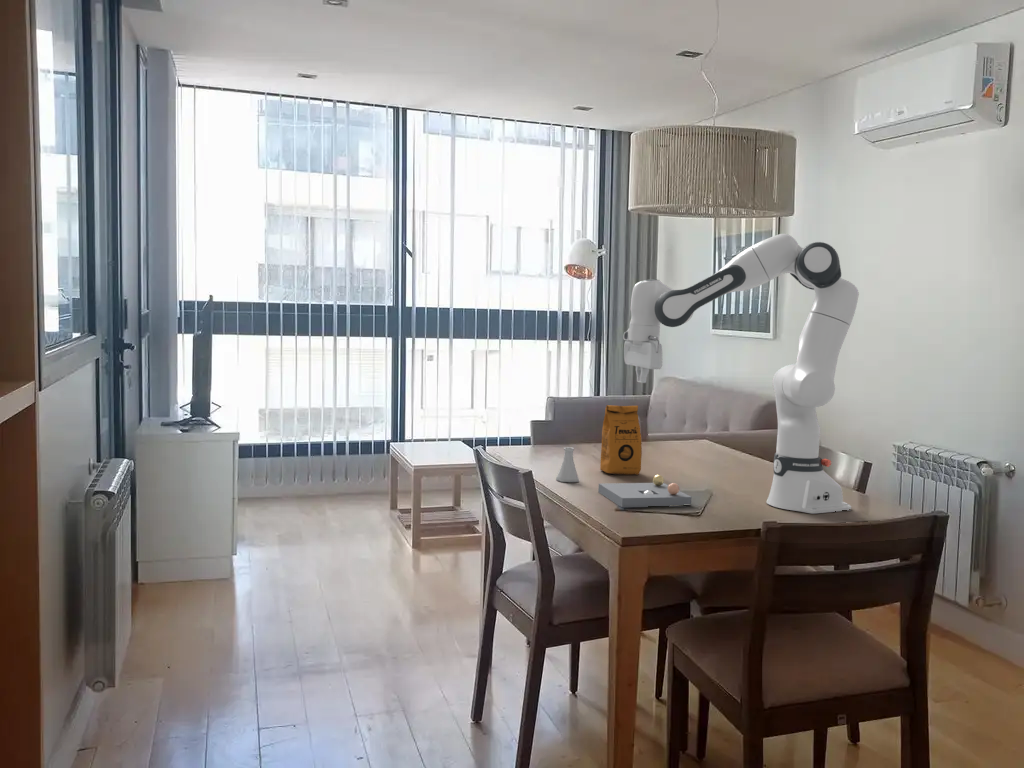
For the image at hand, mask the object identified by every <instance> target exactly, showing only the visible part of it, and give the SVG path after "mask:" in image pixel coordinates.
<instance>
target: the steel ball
mask: <svg viewBox="0 0 1024 768" xmlns="http://www.w3.org/2000/svg"><path fill="white" fill-rule="evenodd" d="M643 494H654V493H653V492H652V491H650V490H647V491H645V492H644V493H643Z"/></svg>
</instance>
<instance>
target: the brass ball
mask: <svg viewBox="0 0 1024 768" xmlns="http://www.w3.org/2000/svg"><path fill="white" fill-rule="evenodd" d="M652 483H654V484H655V485H656V486H661V485H662V484H663V483H665V478H664V477H663V476H662V475H661V474H656V475H654V476H653V477H652Z"/></svg>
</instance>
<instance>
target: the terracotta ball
mask: <svg viewBox="0 0 1024 768" xmlns="http://www.w3.org/2000/svg"><path fill="white" fill-rule="evenodd" d="M668 485H669V486H668V492H669V493H670V494H672V495H676V494H677V493H678V492H679V491H680V486H679V484H677V483H675V482H671V483H669V484H668Z"/></svg>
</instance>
